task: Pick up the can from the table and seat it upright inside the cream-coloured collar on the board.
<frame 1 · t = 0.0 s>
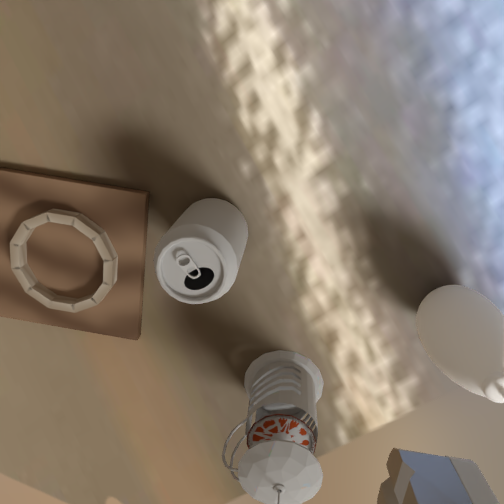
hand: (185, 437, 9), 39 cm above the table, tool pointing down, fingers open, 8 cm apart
seat board: (72, 255, 51), on the table
can: (215, 228, 49), on the table
sauce bottle: (441, 301, 49), on the table
french press: (277, 385, 55), on the table
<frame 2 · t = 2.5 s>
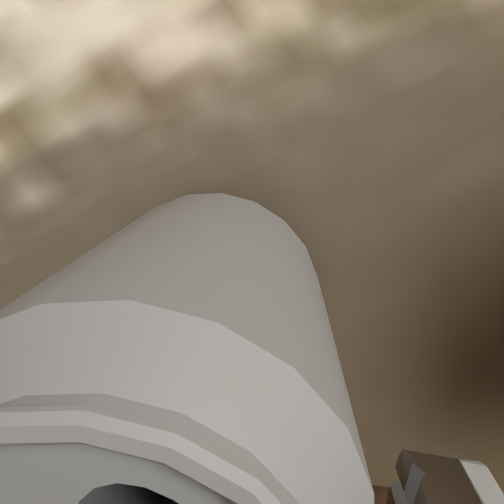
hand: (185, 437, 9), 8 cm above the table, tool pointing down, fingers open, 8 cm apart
can: (217, 286, 17), on the table
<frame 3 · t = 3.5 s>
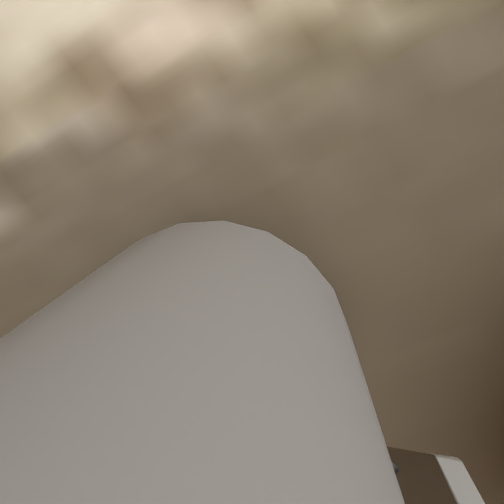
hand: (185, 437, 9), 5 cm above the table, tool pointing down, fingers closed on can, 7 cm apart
can: (220, 334, 13), on the table, touching gripper
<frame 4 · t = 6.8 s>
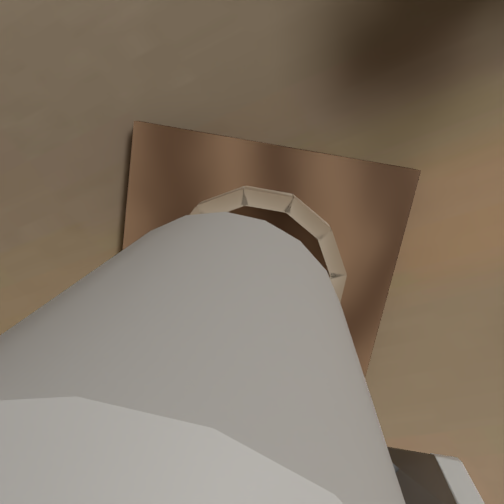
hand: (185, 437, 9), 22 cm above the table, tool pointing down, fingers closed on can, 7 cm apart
seat board: (254, 268, 31), on the table
can: (225, 317, 15), point 16 cm above the table, touching gripper
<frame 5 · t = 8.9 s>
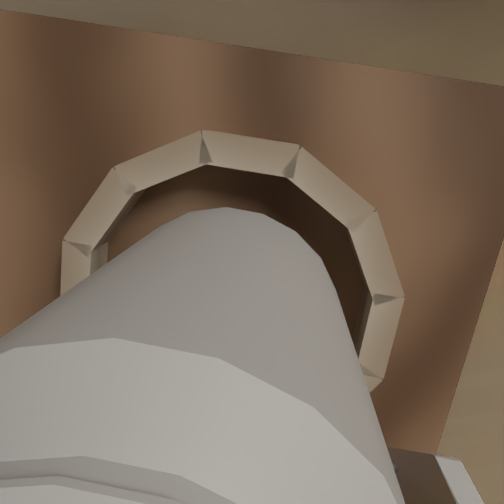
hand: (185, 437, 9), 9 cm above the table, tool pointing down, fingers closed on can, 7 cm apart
seat board: (234, 284, 18), on the table
can: (230, 306, 16), point 2 cm above the table, touching gripper
when the fingers open (7 cm above the table, at t = 9.9 s): can stays where it is, resting on seat board.
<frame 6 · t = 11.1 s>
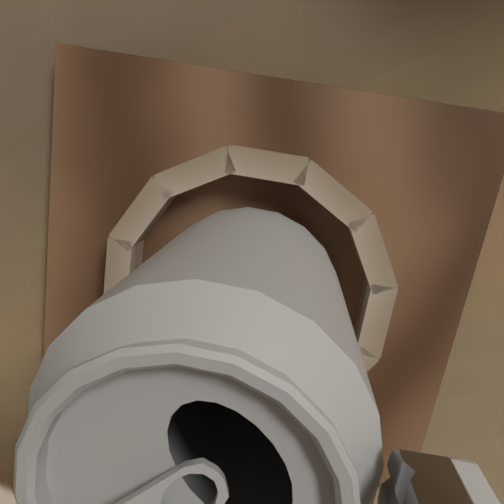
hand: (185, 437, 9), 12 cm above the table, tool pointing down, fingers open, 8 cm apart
seat board: (251, 278, 20), on the table
can: (249, 289, 19), point 1 cm above the table, touching seat board
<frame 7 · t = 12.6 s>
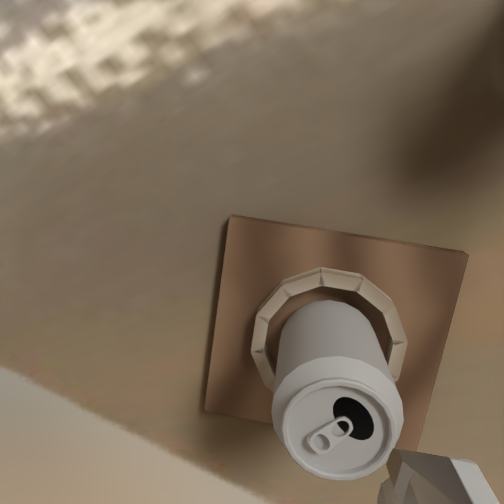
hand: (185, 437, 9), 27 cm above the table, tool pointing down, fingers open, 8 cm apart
seat board: (325, 332, 37), on the table
can: (326, 339, 36), point 1 cm above the table, touching seat board
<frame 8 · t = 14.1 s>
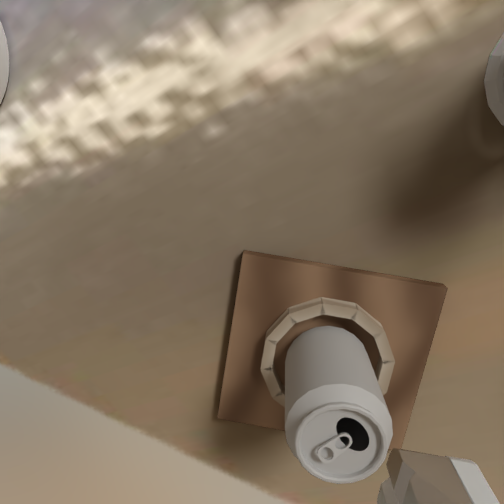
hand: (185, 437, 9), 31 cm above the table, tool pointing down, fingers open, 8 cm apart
seat board: (324, 351, 42), on the table
can: (325, 358, 41), point 1 cm above the table, touching seat board
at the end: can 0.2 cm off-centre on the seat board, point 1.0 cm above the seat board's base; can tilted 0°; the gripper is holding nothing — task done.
